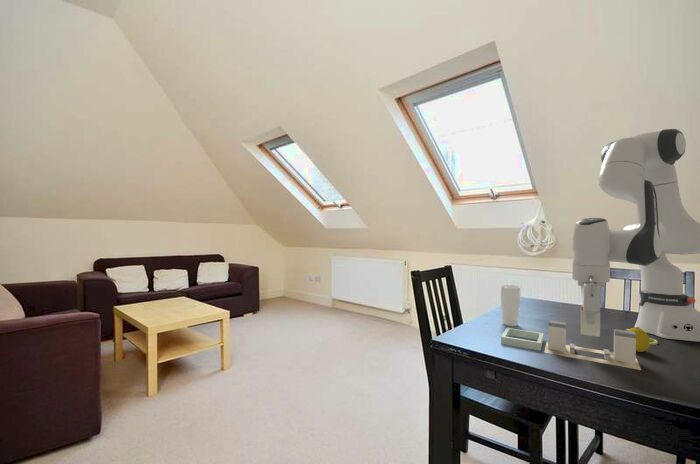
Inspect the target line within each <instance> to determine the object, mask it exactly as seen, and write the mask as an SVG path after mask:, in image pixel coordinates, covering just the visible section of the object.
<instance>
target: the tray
mask: <svg viewBox="0 0 700 464" xmlns="http://www.w3.org/2000/svg"><path fill="white" fill-rule="evenodd" d="M544 336H545V334H544V332H537V331H530V330H524V329H518V328H512V327H506V328H505V330H504V332H503V333H502V334H501V337H500V344H501V345H506V346H514V347H518V348H523V349H528V350H535V351H541V350H542V347H543V344H544V338H545V337H544Z"/></svg>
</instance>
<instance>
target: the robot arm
mask: <svg viewBox="0 0 700 464" xmlns="http://www.w3.org/2000/svg"><path fill="white" fill-rule="evenodd" d="M686 147H687V141H686V138H685V135H684V133H683V132H682V131H680V129H679V130H678V129H676V128H668V129H667V128H666V129H662V130H659V131H649V132H646V133H645V132H644V133H641V134H637V135H633V136H630V137H623V138H619V139H617V140H613V141H612V142H609V143H607V144H606V145H605V146H604V148H603V149H602V150H601V154H600V159H601V163H602V164H601V167H600V171H599V177H598V185H599V187H600V189H601V190H602V191H603V192H604V193H605V194H607V195H608V196H611V197H613V198H615V199H619V200H623V201H626V202H627V201H628V202H631V203H633V204H635V205H636V206H637V209H636V210H637V213H636V214H637V222H636V223H633V224H628V225H626V226H625V227H624V228H623V229H616V228H615V229H613V228H612V229H611V228H609V222H608V220H607V219H606V218H602V217H588V218H582V219H579V220H577V221H576V222H575V225H574V228H573V238H572V251H573V255H574V256H573V260H572V280H574V281H577V286H579V287H580V290H581V292H580V293H581V298H582V305H583V310H584V312H586V315H587V323H588V324H592V325H593V324H594V323H595V314H599V313H600V314H601V289H602V288H604V287H605V283H610V280H611V263H610V262H612V263H625V264H631V265H638V266H639V270H640V289H639V293H638V304H639V310H638V315H637V319H636V322H635V325H634V327H633V328H635V327H639V328H640V329H642V330H644V331H645V332H646V333H647V334H651V335H654V336H657V337H659V338H663V339H669V340H679V341H689V342H697V343H700V310H697V309H696V308H695V307H693V306H692V304H693V305H694V304H695V303H696V299H695V298H694V297H692V296H689V295H687V294H685V293H684V273H683V271H682V269H680V268H679V266H676V265H674V264H673V263H672V262H671V261H669V260H668V257H667V255H666V254H668V255H683V256H686V255H687V256H688V255H696V254H697V255H698V254H700V222H699V221H697V220H696V219H694V217H692V216H691V215H690V213H688V211H687V210H686V209H685V207H684V205H683V202H682V198H681V194H680V188H679V180H678V174H677V170H676V167H675V163H676V161H678V160H680V159H681V158H682V157H683V156H684V155H685V153H686Z"/></svg>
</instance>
